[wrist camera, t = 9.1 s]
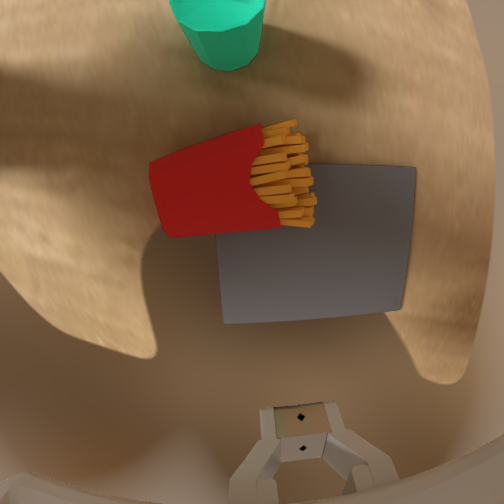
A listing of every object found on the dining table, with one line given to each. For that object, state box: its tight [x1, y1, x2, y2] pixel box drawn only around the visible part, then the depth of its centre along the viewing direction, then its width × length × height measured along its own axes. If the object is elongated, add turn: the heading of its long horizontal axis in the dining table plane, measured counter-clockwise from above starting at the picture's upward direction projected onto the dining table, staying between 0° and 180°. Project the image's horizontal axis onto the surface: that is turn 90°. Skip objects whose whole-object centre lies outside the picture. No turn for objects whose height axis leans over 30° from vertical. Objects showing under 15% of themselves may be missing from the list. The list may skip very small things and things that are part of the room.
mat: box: [215, 164, 416, 324], centre depth 30 cm, size 20×16×1 cm
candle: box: [169, 0, 266, 71], centre depth 18 cm, size 6×6×12 cm
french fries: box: [149, 119, 317, 238], centre depth 25 cm, size 9×4×13 cm
